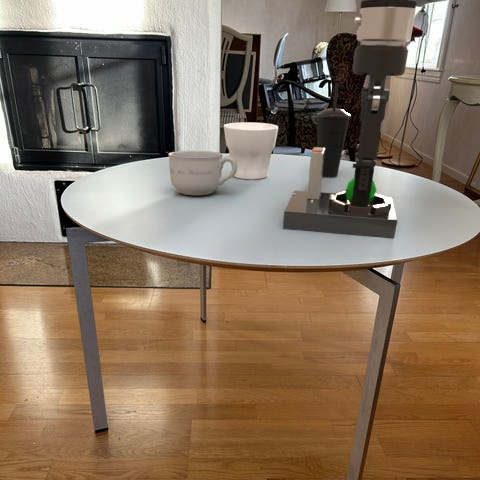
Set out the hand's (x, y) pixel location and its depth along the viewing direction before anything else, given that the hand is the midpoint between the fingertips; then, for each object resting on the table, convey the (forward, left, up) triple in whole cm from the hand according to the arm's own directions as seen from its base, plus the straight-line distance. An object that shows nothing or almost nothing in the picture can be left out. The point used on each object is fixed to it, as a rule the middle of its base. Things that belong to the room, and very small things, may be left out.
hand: (359, 203), depth 81 cm
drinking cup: (+7, -38, -4) cm, 39 cm away
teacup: (+31, -13, -4) cm, 34 cm away
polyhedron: (0, 0, 0) cm, 0 cm away
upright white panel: (+8, -6, -1) cm, 10 cm away
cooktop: (+3, -2, -4) cm, 5 cm away
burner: (0, 0, -1) cm, 1 cm away
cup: (+25, -32, -4) cm, 41 cm away
